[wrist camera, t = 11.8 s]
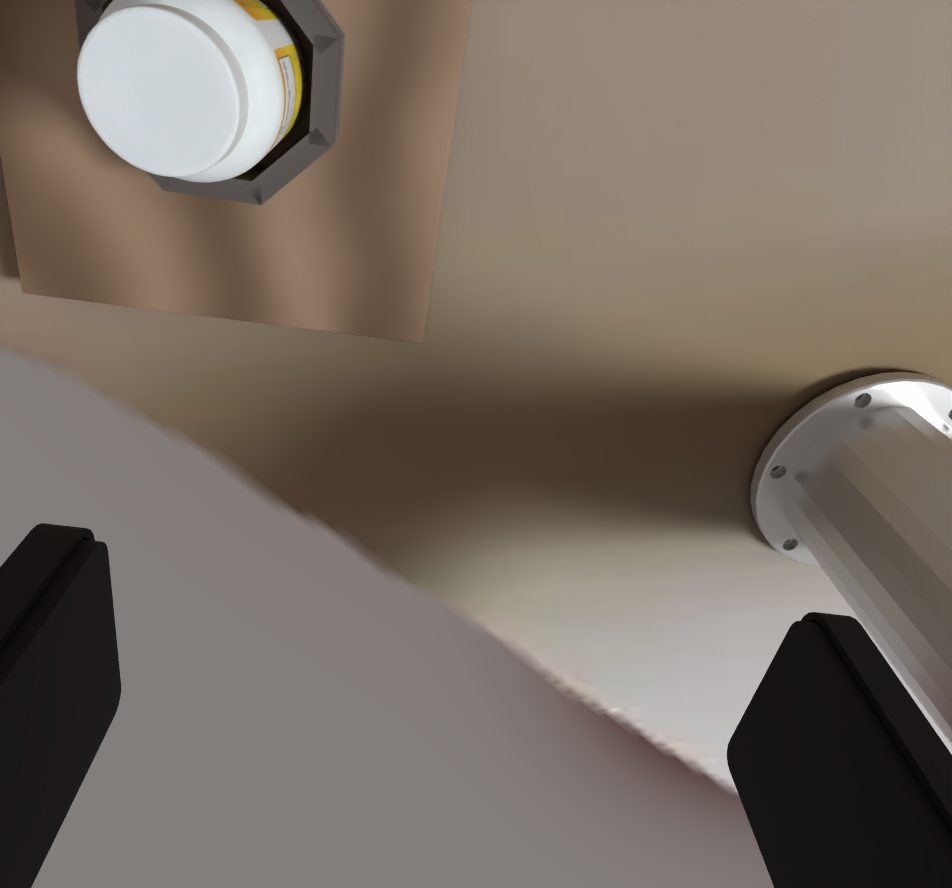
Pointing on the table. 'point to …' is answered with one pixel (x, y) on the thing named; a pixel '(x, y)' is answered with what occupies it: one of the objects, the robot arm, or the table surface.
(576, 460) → the table surface
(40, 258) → the holder
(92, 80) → the supplement bottle
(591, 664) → the table surface
